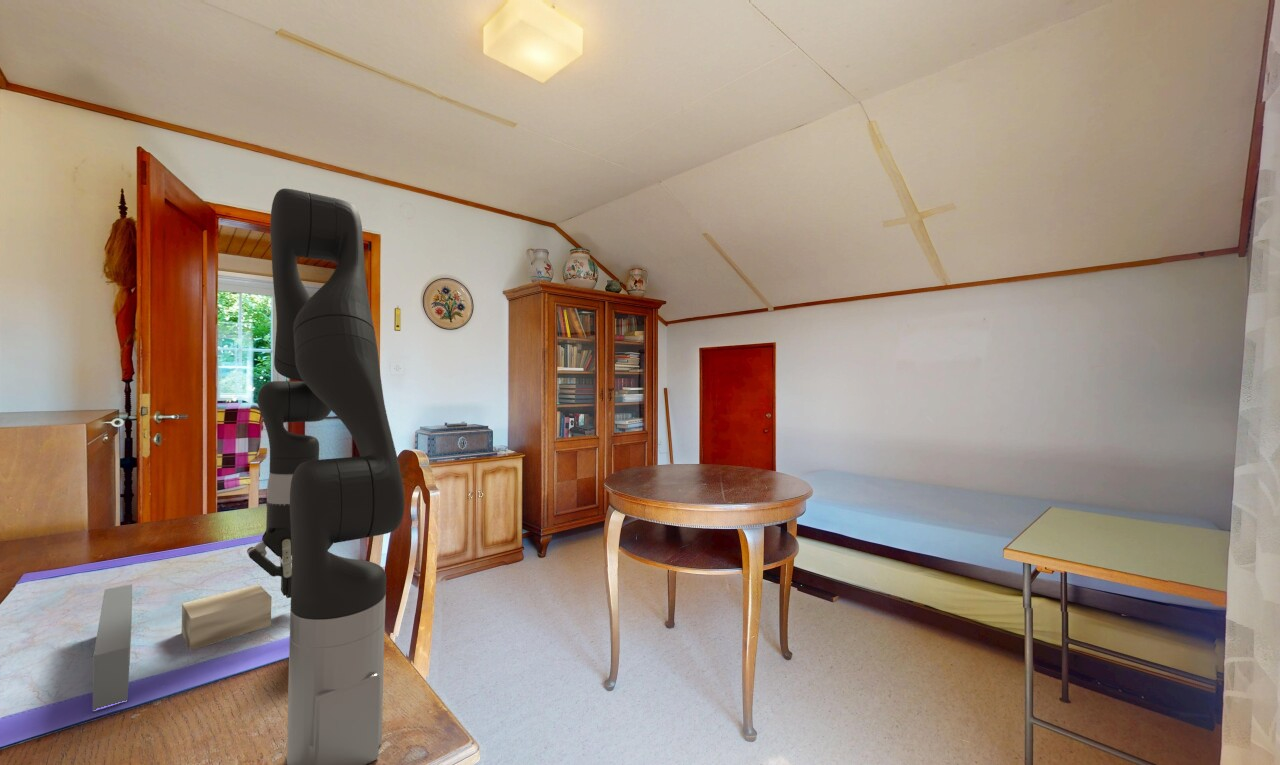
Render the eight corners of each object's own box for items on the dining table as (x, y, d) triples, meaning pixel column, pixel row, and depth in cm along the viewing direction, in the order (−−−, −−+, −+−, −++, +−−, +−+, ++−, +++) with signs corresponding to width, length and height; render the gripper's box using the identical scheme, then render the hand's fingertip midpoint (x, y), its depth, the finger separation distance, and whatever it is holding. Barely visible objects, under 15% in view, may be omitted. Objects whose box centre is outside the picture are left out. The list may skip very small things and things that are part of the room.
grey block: (127, 701, 63) (128, 647, 63) (92, 712, 61) (93, 655, 61) (131, 627, 80) (132, 584, 80) (104, 633, 78) (104, 589, 78)
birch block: (270, 626, 83) (271, 597, 83) (190, 651, 75) (191, 618, 75) (258, 612, 87) (259, 584, 87) (181, 634, 79) (182, 603, 79)
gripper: (248, 507, 79) (246, 615, 80) (343, 495, 89) (340, 592, 89) (242, 497, 85) (240, 599, 85) (332, 487, 94) (329, 578, 94)
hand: (291, 595), depth 87 cm, fingers closed
